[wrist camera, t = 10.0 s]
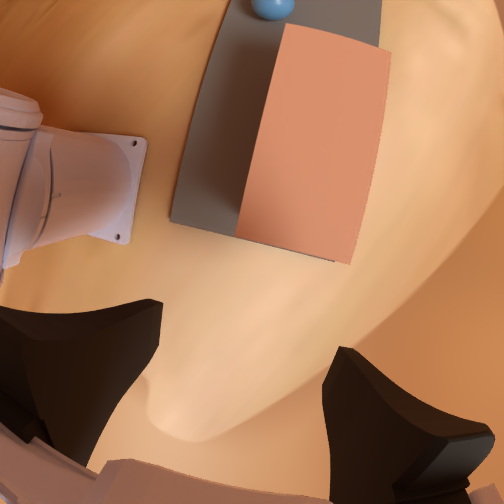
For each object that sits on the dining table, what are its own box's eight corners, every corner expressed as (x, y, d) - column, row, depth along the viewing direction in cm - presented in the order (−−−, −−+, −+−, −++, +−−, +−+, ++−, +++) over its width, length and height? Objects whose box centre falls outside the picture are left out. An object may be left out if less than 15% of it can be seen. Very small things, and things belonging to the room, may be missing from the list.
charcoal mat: (172, 220, 20) (169, 221, 19) (253, -46, 14) (252, -49, 14) (333, 260, 19) (334, 262, 19) (381, -20, 14) (382, -23, 13)
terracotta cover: (248, 222, 19) (234, 236, 13) (284, 68, 16) (286, 23, 10) (328, 242, 18) (349, 264, 13) (361, 88, 16) (391, 52, 10)
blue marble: (248, 24, 16) (244, 2, 13) (258, -2, 15) (254, -25, 12) (289, 30, 16) (290, 8, 13) (297, 3, 15) (298, -19, 12)
